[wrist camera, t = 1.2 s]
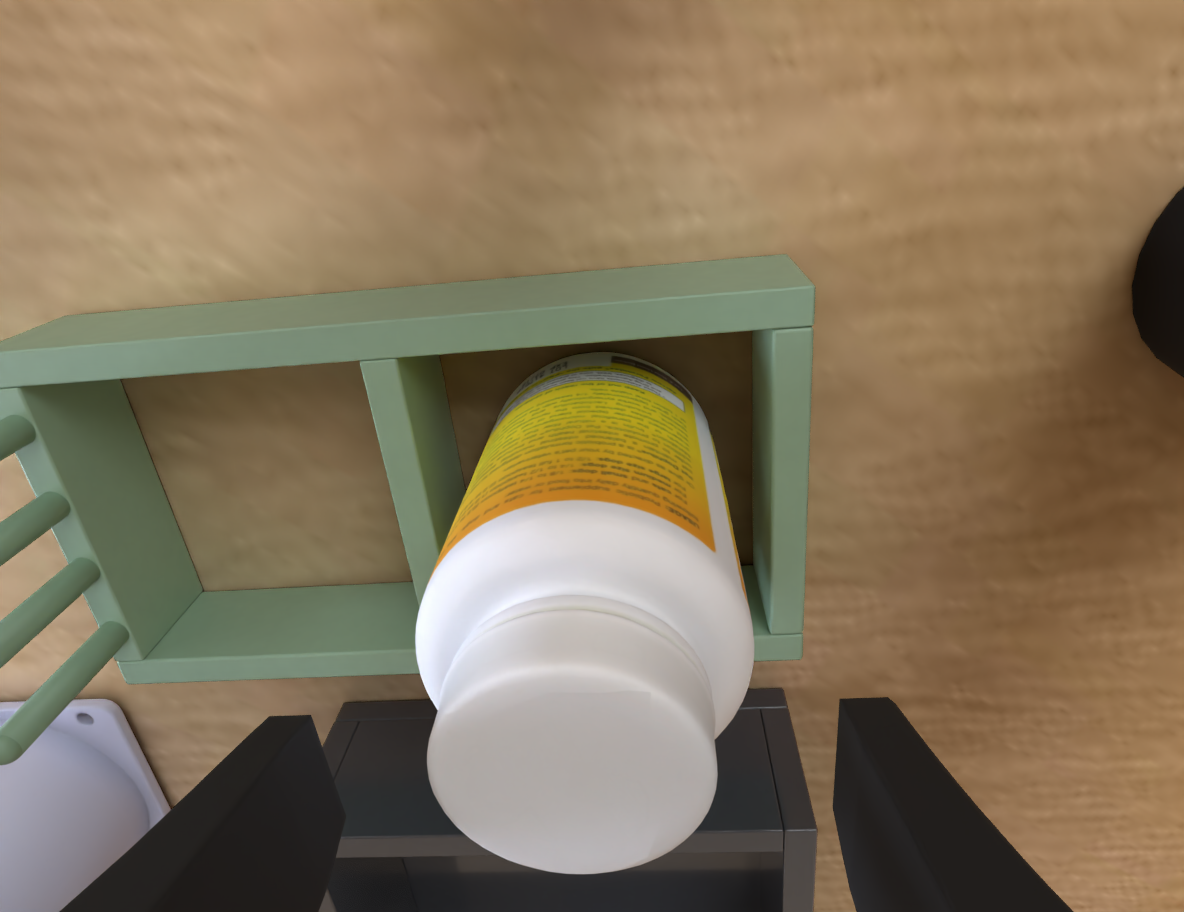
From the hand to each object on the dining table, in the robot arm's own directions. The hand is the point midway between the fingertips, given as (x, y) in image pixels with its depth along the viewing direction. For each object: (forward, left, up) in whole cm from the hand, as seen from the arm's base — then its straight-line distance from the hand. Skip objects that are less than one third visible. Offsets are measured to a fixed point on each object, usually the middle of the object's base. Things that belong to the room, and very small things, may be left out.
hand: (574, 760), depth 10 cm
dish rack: (-4, 0, -10) cm, 11 cm away
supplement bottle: (0, 0, -10) cm, 10 cm away
